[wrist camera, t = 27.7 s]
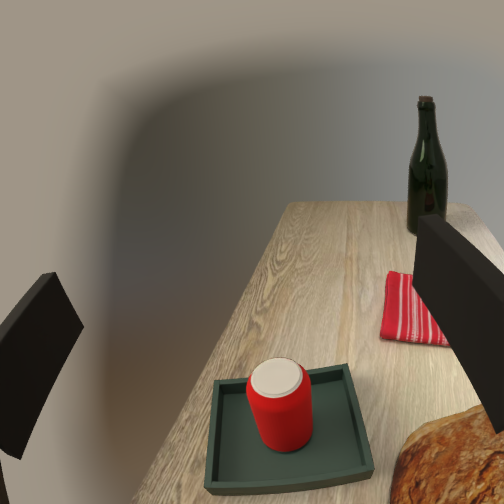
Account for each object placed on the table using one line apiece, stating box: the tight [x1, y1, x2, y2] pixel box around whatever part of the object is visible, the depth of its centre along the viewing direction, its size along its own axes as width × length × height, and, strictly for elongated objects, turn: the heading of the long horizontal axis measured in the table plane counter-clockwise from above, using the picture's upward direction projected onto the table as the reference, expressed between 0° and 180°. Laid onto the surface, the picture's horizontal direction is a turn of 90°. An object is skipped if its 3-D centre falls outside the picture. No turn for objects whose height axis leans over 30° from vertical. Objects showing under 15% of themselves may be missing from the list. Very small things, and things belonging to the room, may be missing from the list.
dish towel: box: [380, 271, 450, 346], centre depth 44 cm, size 17×24×3 cm
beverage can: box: [246, 357, 313, 452], centre depth 30 cm, size 6×6×12 cm
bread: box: [390, 404, 504, 504], centre depth 18 cm, size 20×18×10 cm
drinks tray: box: [204, 363, 375, 495], centre depth 32 cm, size 18×16×3 cm
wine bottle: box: [407, 96, 448, 235], centre depth 62 cm, size 10×10×33 cm
